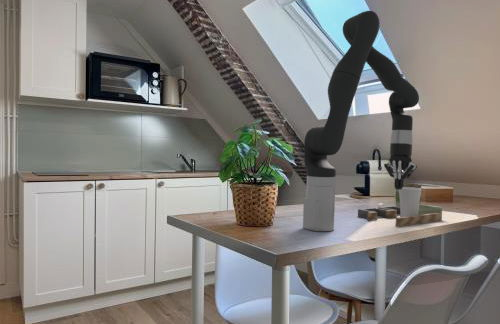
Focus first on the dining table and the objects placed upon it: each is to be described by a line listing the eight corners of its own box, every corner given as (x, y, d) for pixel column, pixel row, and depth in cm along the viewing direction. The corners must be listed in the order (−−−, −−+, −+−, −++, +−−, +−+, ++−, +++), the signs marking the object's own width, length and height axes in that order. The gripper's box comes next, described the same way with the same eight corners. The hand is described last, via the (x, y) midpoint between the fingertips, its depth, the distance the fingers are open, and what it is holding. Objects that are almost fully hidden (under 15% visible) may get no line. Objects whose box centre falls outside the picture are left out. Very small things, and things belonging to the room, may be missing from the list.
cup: (423, 221, 137) (425, 189, 137) (402, 220, 137) (403, 189, 137) (414, 217, 145) (415, 187, 145) (394, 216, 145) (395, 186, 145)
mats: (374, 218, 139) (374, 218, 139) (362, 216, 144) (362, 216, 144) (404, 215, 149) (404, 214, 149) (392, 213, 154) (392, 212, 154)
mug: (392, 208, 168) (393, 182, 168) (416, 209, 167) (417, 183, 166) (400, 213, 153) (401, 185, 152) (428, 215, 151) (429, 186, 151)
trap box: (398, 226, 126) (399, 212, 126) (353, 216, 143) (353, 204, 143) (441, 220, 140) (442, 207, 140) (395, 212, 157) (395, 200, 157)
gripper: (379, 142, 139) (377, 187, 139) (411, 142, 128) (408, 191, 128) (392, 143, 143) (389, 187, 143) (423, 143, 132) (421, 191, 132)
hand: (398, 189), depth 136 cm, fingers closed
